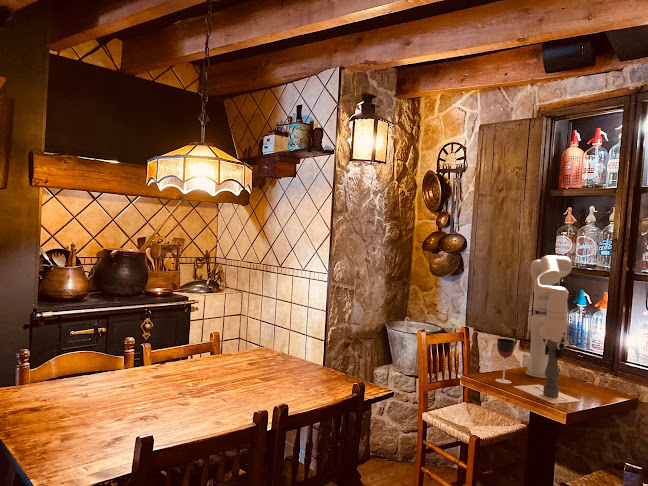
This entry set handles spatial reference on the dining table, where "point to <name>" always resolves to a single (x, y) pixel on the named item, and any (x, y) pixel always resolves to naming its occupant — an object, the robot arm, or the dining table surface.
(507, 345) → the wineglass
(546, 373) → the candle holder
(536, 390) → the paper sheet
